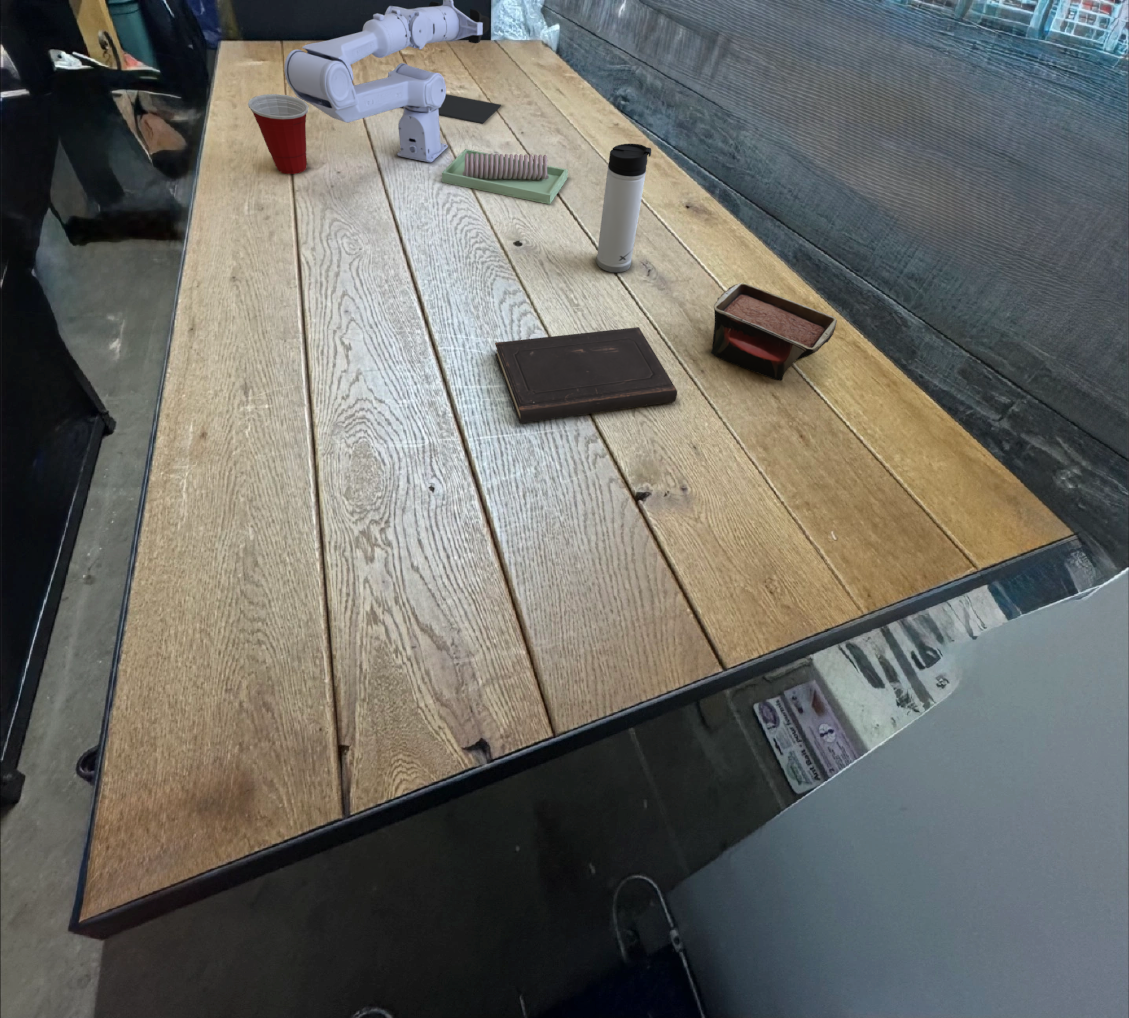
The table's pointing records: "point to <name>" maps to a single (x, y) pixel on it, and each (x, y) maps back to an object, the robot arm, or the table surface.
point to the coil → (505, 167)
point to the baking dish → (766, 330)
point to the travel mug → (621, 206)
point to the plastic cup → (283, 129)
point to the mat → (467, 109)
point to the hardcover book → (582, 374)
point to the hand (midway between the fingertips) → (472, 20)
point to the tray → (508, 181)
